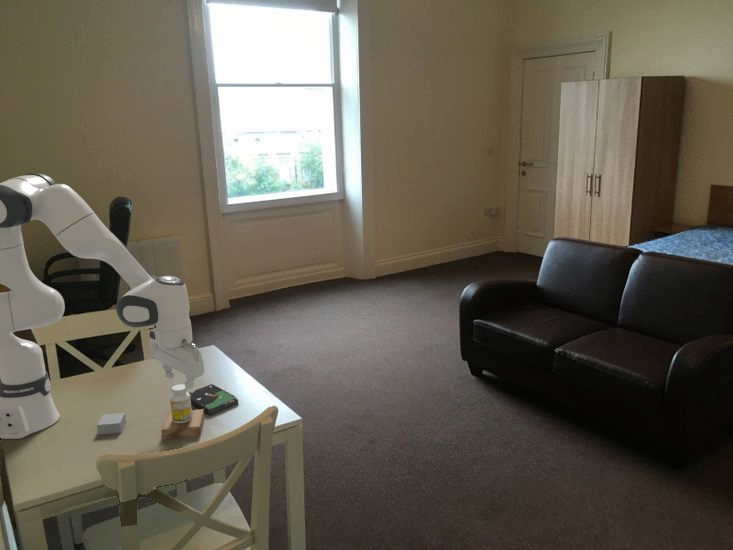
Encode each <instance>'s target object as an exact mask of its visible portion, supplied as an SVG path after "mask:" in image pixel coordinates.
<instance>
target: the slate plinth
mask: <svg viewBox="0 0 733 550" xmlns="http://www.w3.org/2000/svg"><path fill="white" fill-rule="evenodd" d="M126 424H127V417H126V412H120V413H118V412H117V413H108V414H102V415H101V418H100V419H99V421H98V422H97V424H96V427H97V433H98V436H101V435H103V436H104V435H111V434H113V435H114V434H122V432H123V430H124V428H125V426H126Z"/></svg>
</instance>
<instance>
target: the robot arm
mask: <svg viewBox="0 0 733 550" xmlns="http://www.w3.org/2000/svg"><path fill="white" fill-rule="evenodd" d="M33 220H37V221H40V222H41V223H44V225H45V226H47V228H48V229H49V230H50V231H51V234H53V236H54V237H55V238H56V240H57V241H58V242H59V244H61V246H62V247H63V248H64V249H65V250H66V251H67V252H69V254H71V255H72V256H74V257H77V258H80V259H88V260H89V259H90V260H91V259H92V260H100V261H102V262H104V263H106V264H108V265H110V266H111V267H112V268H113V269H114V270H115V272H117V273H118V275H119V276H120V277H121V278H122V279H123V280H124V281H125V282H126V283H127V284H128V286H129V287H130V290H128V291H127V292H126V293H125V294H124V295H122V296H121V297H120V298H119V299H118V301H117V303H116V307H115V310H116V311H115V312H116V316H117V317H118V319H119V320H120V321H121V322H122V324H124V325H125V326H127V327H129V328H142V327H143V328H145V327H150V326H153V325H155V326H156V327H154V328H151V329H149V330H147V334H148V338H149V345H150V346H149V347H150V351H151V355H152V357H153V359H154V360H155V361H158V362H159V363H161V366H162V369H163V371H164V372H165V373H164V374H165V377H166V378H167V379H170V380H171V379H172V378H174V377H175V372H174V371H177V372H178V373H180V374H183V375H185V379H186V381H184V385H185V387H186V388H187V390H190V389H193V388H194V387H195V386H194V381H195V379H196V378H199V377H201V376H203V375H204V374H205V367H204V360H203V355H202V352H201V350H200V349H199V348H198V347H197V345H196V344H195V343H194V342H193V331H192V322H191V321H192V320H191V319H190V315H189V314H190V313H189V312H190V310H191V309H190V301H189V300H190V299H189V295H188V289H187V286H186V284H185V282H184V281H183V279H181V278H179V277H177V276H174V275H160V276H155V275H154V274H152V273H151V272H150V271H149V270H148V269H147V268H146V267H145V265H143V264H142V263H141V261H140V260H139V259H138V258H137V257H136V256H135V255H134V254H133V253H132V252H131V250H130V249H129V248H128V247H127V246H126V245H125V243H123V241H121V240H120V239H119V238H118V237H117V236H116V235H115V234H114V233H113V232H112V231H111V230H110V229H108V227H107V226H106V225H105V224H104V223H103V222H102V220H101V219H100V218H99V217H98V215H97V214H96V213H95V211H94V210H93V209H92V207H90V205H89V204H88V203H87V202H86V201H85V199H83V198H82V197H81V196H80V195H79V194H78V192H76V191H75V190H74V189H73V188H71V186H69V185H68V184H64V183H57V182H56V181H55V180H54V179H53V178H52V177H50V176H48V175H47V174H43V173H28V174H24V175H20V176H15V177H11V178H9V179H7V180H5V181H2V182H0V285H3V286H5V287H7V288H8V289H10V291H5V292H0V437H1V439H0V440H5V439H6V440H18V439H20V440H21V439H24V438H25V437H26V438H27V436H29V435H31V434H34V433H37V432H40V431H42V430H45V429H47V428H49V427H51V426H53V425H55V423H56V422H58V420H59V419H60V416H61V415H60V412H59V411H58V410H57V407H56V404H55V403H54V399H53V397H52V393H51V382H50V378H49V373H48V371H47V370H46V366H45V361H44V354H43V349H42V348H41V346H40V345H39V344H37V343H36V342H34V341H31V340H27V339H23V338H20V337H18V336H16V335H15V334H14V333H15V332H19V331H25V330H30V329H38V328H43V327H46V326H49V325H52V324H54V323H57V322H59V321H60V320H61V319H62V318H63V316H64V313H65V308H66V307H65V305H66V304H65V300H64V297H63V296H62V294H61V293H60V292H59V291H58V290H57V289H55V288H53V287H50V286H49V285H47V284H45V283H44V282H42V281H41V280H39V278H37V276H36V275H35V274H34V273H33V271H32V270H31V268H30V265H29V262H28V258H27V254H26V250H25V245H24V238H23V233H22V225H25V224H29V223H30V222H31V221H33Z"/></svg>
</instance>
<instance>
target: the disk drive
mask: <svg viewBox="0 0 733 550" xmlns="http://www.w3.org/2000/svg"><path fill="white" fill-rule="evenodd" d="M188 393H189V394H190V399H191V407H193V408H195V409H196V410H200V409H204V415H206V416H209V417H211V416H213V415H216V414H218V413H221V412H223V411H225V410H228V409H231V408H233V407H236V406H238V405H239V399H238V397H236V396H235V395H234V394H232V393H229V392H227V391H226V390H224V389H222V388H220V387H219V386H217V385H215V384H212V383H211V384H208V385H205V386H202V387H200V388H198V389H195V390H194V391H193V392H190V391H188Z"/></svg>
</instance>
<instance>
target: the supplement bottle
mask: <svg viewBox="0 0 733 550" xmlns="http://www.w3.org/2000/svg"><path fill="white" fill-rule="evenodd" d="M169 404H170V412H172V420H173V421H174V422H175V423H186V422H188V421H190V420H191V419H192V410H193V409H192V406H191V399H190V394H189V391H188V388H186V387H185V384H182V383H181V384H175V385H173V386H172V387H171V395H170V397H169Z"/></svg>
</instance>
